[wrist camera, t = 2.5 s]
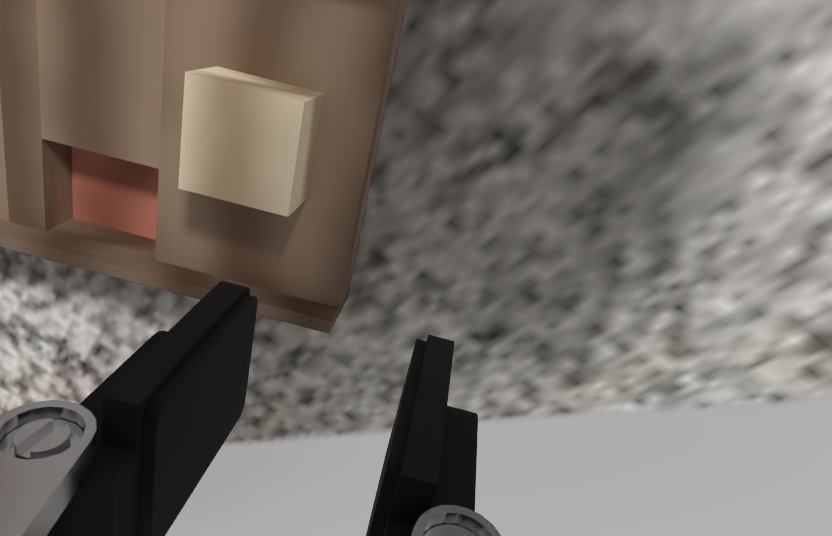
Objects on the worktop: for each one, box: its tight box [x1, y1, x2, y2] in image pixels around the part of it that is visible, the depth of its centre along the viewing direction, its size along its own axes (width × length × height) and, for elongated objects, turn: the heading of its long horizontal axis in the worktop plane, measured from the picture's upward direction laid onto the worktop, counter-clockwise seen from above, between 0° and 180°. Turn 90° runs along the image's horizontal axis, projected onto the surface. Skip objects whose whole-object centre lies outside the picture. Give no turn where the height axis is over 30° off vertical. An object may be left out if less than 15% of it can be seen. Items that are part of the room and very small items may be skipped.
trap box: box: [0, 0, 407, 333], centre depth 28 cm, size 29×17×4 cm, turn 77°
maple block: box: [178, 66, 324, 217], centre depth 26 cm, size 5×5×3 cm
